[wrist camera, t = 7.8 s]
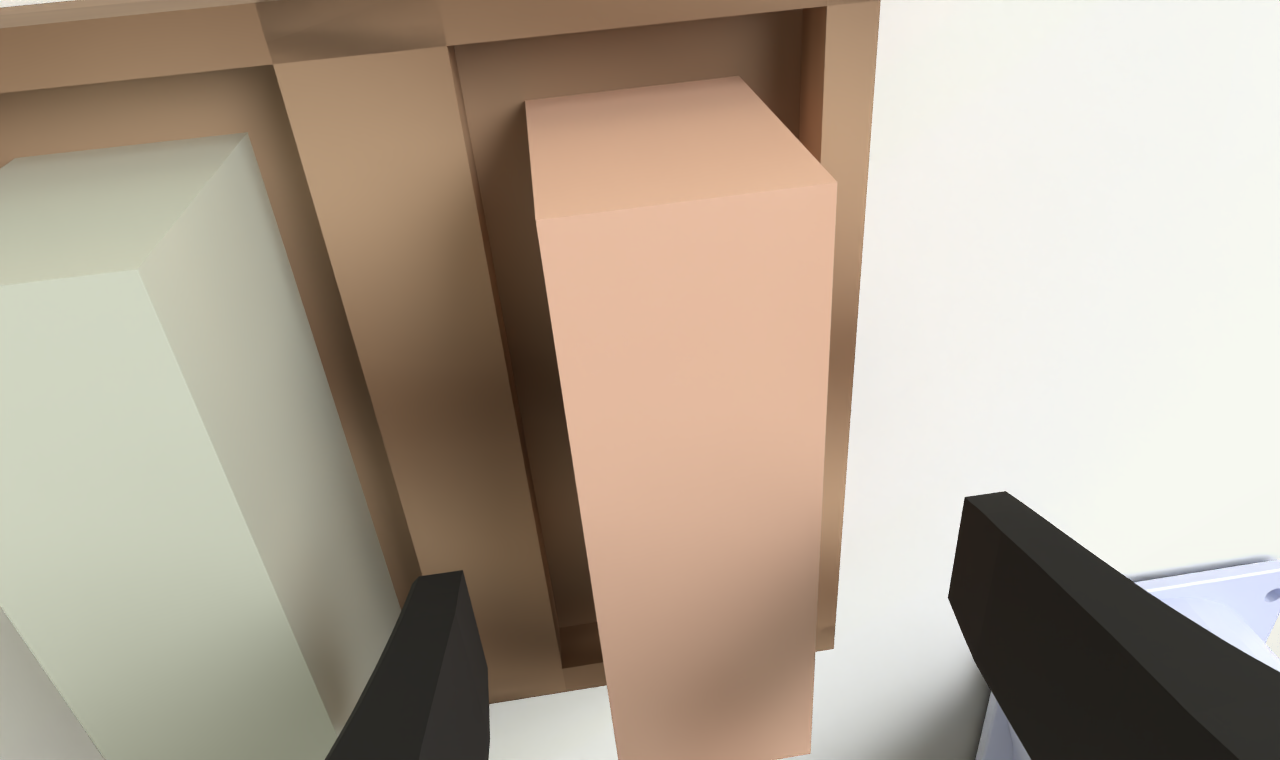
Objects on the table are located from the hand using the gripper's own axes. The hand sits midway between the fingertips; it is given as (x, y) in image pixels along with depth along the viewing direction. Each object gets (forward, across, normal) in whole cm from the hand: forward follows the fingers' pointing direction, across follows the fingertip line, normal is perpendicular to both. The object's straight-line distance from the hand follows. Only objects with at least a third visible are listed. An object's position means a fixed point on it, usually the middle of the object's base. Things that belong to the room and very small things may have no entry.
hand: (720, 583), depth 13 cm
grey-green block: (+6, +8, 0) cm, 10 cm away
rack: (+6, +4, 0) cm, 8 cm away
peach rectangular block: (+6, 0, 0) cm, 6 cm away
